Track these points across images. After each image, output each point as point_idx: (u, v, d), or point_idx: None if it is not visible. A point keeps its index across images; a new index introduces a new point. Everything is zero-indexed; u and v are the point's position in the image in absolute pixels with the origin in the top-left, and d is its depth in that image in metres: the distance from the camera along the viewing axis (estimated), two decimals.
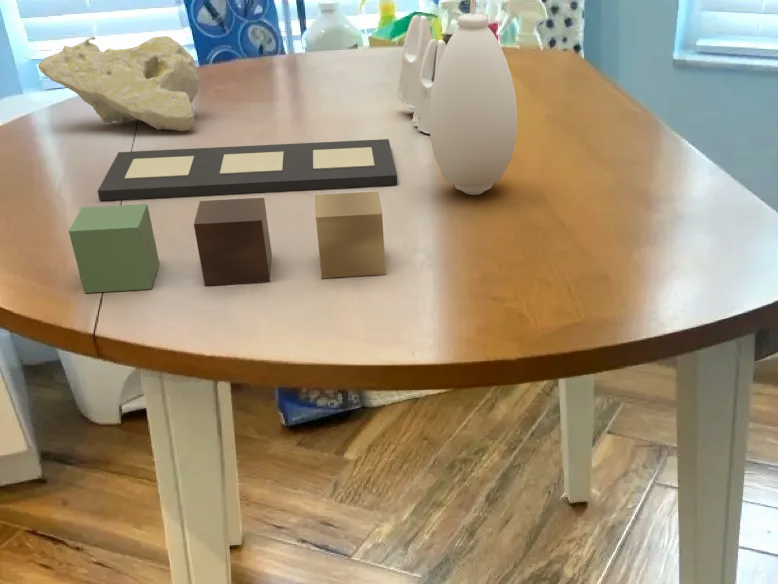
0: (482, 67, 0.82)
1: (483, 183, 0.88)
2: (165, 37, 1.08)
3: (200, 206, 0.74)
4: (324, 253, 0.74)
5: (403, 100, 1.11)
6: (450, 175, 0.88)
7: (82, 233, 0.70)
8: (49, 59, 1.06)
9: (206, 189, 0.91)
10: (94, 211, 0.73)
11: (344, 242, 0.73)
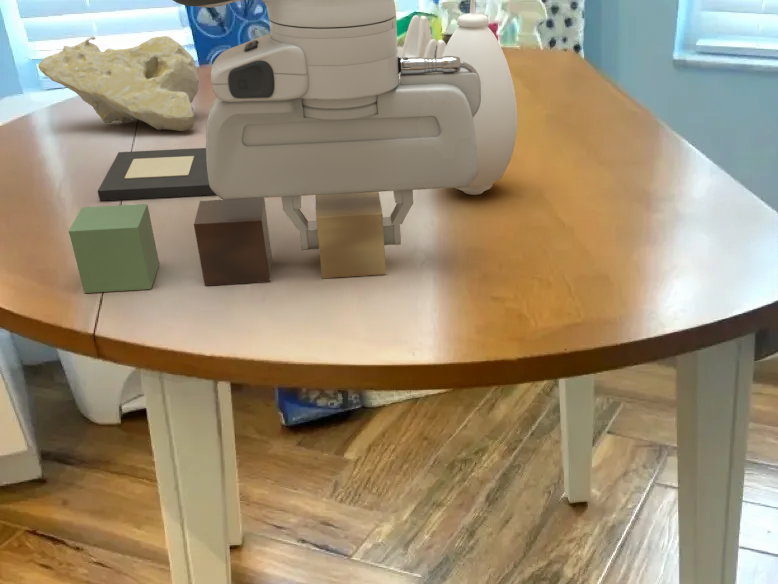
0: (482, 67, 0.82)
1: (483, 183, 0.88)
2: (165, 37, 1.08)
3: (200, 206, 0.74)
4: (324, 253, 0.74)
5: None
6: None
7: (82, 233, 0.70)
8: (49, 59, 1.06)
9: (206, 189, 0.91)
10: (94, 211, 0.73)
11: (344, 242, 0.73)
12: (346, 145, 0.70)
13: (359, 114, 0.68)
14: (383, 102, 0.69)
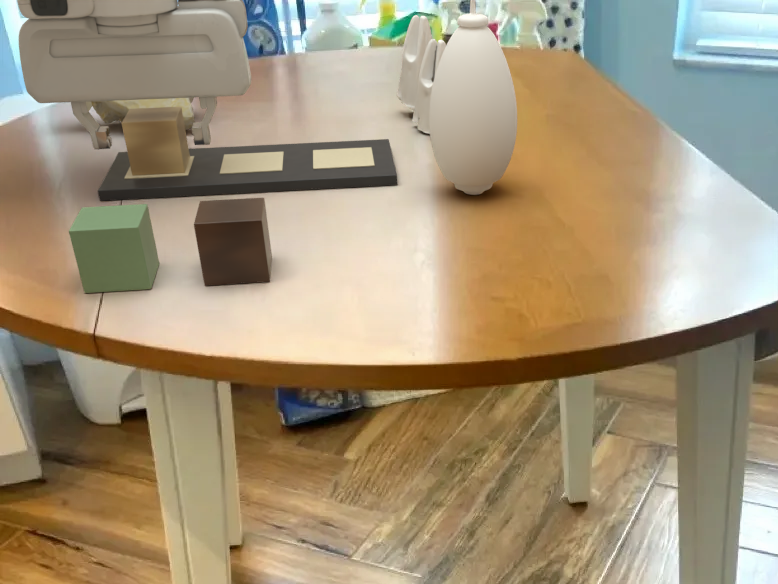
0: (482, 67, 0.82)
1: (483, 183, 0.88)
2: None
3: (200, 206, 0.74)
4: (132, 153, 0.91)
5: (403, 100, 1.11)
6: (450, 175, 0.88)
7: (82, 233, 0.70)
8: None
9: (206, 189, 0.91)
10: (94, 211, 0.73)
11: (147, 145, 0.91)
12: (136, 57, 0.87)
13: (141, 31, 0.85)
14: (162, 22, 0.85)
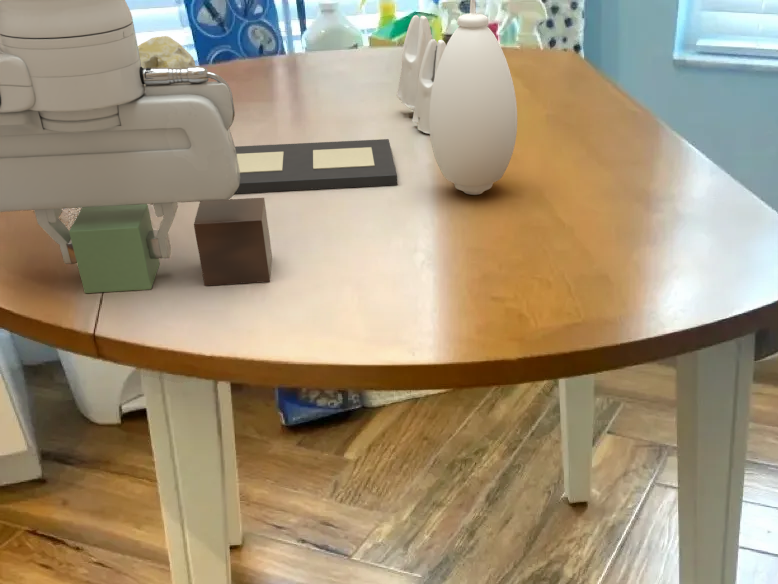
0: (482, 67, 0.82)
1: (483, 183, 0.88)
2: (165, 37, 1.08)
3: (200, 206, 0.74)
4: None
5: (403, 100, 1.11)
6: (450, 175, 0.88)
7: (82, 233, 0.70)
8: None
9: None
10: (94, 211, 0.73)
11: None
12: (92, 157, 0.68)
13: (97, 126, 0.66)
14: (125, 114, 0.67)
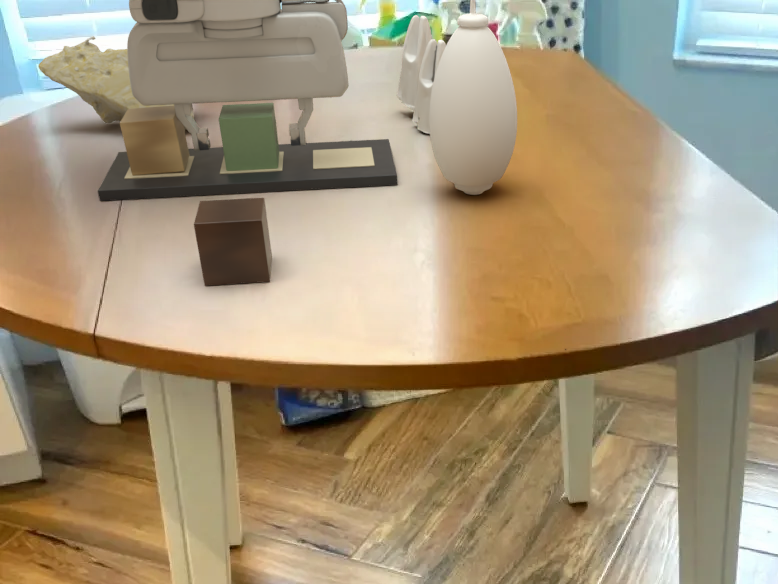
0: (482, 67, 0.82)
1: (483, 183, 0.88)
2: None
3: (200, 206, 0.74)
4: (131, 153, 0.91)
5: (403, 100, 1.11)
6: (450, 175, 0.88)
7: (228, 121, 0.91)
8: (49, 59, 1.06)
9: (206, 189, 0.91)
10: (233, 107, 0.94)
11: (146, 144, 0.91)
12: (239, 60, 0.88)
13: (247, 34, 0.86)
14: (267, 25, 0.87)
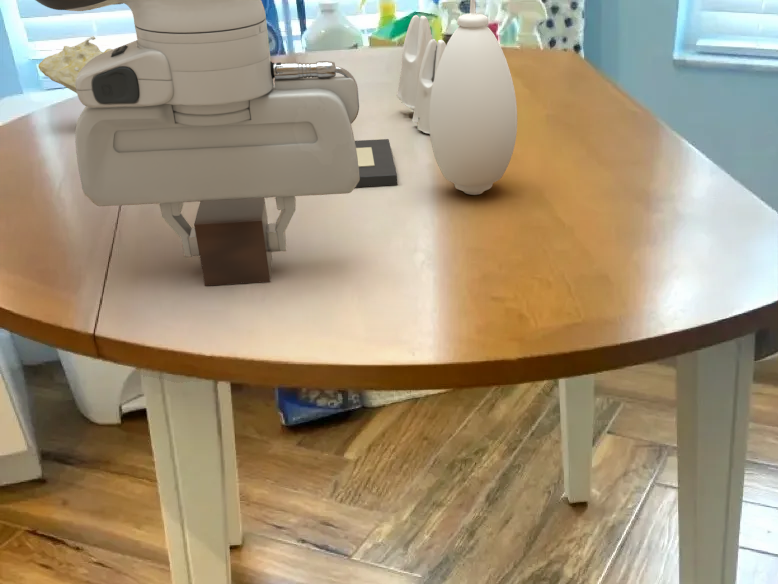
0: (482, 67, 0.82)
1: (483, 183, 0.88)
2: None
3: (200, 206, 0.74)
4: None
5: (403, 100, 1.11)
6: (450, 175, 0.88)
7: None
8: (49, 59, 1.06)
9: None
10: None
11: None
12: (221, 151, 0.69)
13: (230, 120, 0.67)
14: (256, 108, 0.68)
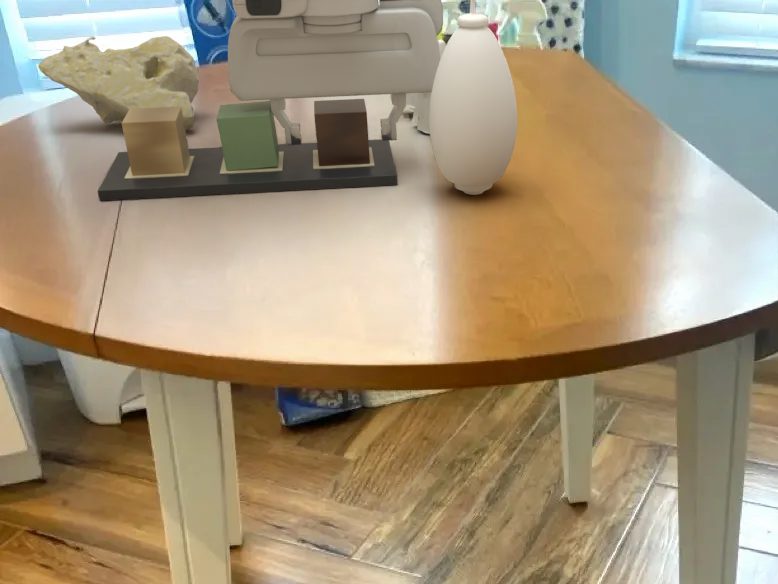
0: (482, 67, 0.82)
1: (483, 183, 0.88)
2: (165, 37, 1.08)
3: (315, 104, 0.94)
4: (132, 153, 0.91)
5: None
6: (450, 175, 0.88)
7: (226, 120, 0.91)
8: (49, 59, 1.06)
9: (206, 189, 0.91)
10: (231, 106, 0.94)
11: (147, 145, 0.91)
12: (337, 55, 0.89)
13: (347, 29, 0.87)
14: (366, 21, 0.88)
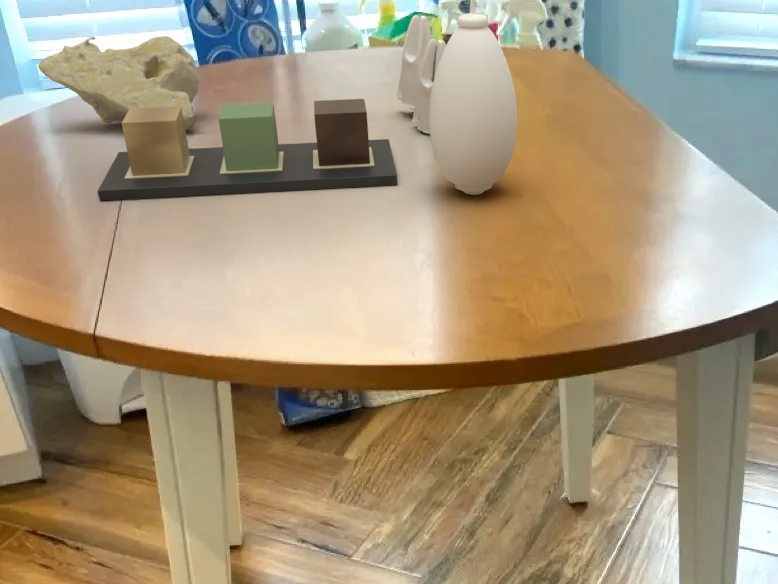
0: (482, 67, 0.82)
1: (483, 183, 0.88)
2: (165, 37, 1.08)
3: (315, 104, 0.94)
4: (132, 153, 0.91)
5: (403, 100, 1.11)
6: (450, 175, 0.88)
7: (228, 121, 0.91)
8: (49, 59, 1.06)
9: (206, 189, 0.91)
10: (233, 107, 0.94)
11: (147, 145, 0.91)
12: None
13: None
14: None
